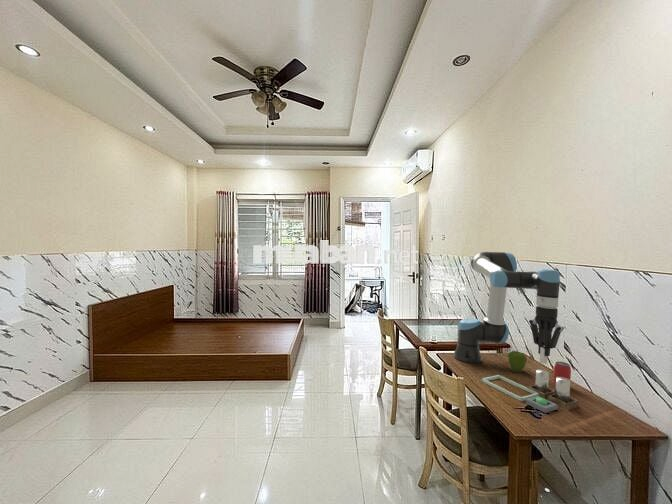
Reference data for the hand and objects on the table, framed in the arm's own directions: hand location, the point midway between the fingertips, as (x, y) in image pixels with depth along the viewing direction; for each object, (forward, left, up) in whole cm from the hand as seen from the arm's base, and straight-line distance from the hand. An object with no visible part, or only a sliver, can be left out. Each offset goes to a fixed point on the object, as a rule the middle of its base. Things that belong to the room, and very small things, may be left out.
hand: (543, 362), depth 129 cm
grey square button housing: (0, 0, -19) cm, 19 cm away
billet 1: (-7, +12, -18) cm, 23 cm away
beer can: (-9, +30, -20) cm, 37 cm away
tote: (-16, +2, -19) cm, 25 cm away
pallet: (-3, +12, -19) cm, 23 cm away
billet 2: (+1, +12, -18) cm, 22 cm away
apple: (-30, +27, -20) cm, 45 cm away
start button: (0, 0, -18) cm, 18 cm away
